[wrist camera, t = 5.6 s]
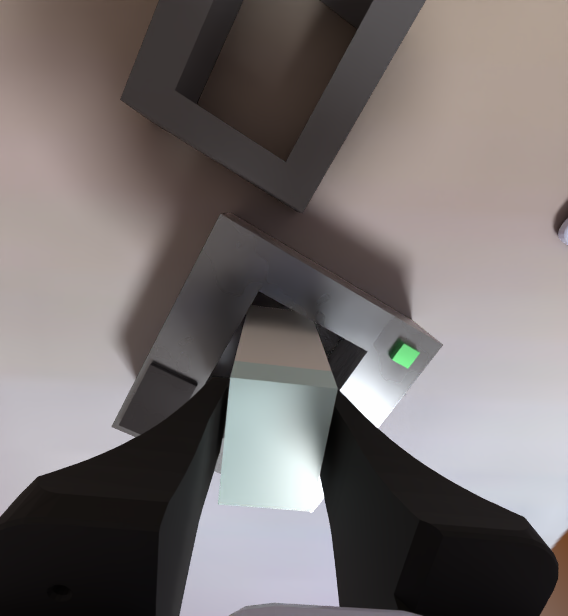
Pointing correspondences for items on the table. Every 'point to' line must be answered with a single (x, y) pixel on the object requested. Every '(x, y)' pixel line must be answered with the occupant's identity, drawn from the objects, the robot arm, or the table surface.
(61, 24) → the table surface
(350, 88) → the grey hollow square frame
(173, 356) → the port
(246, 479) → the plug
